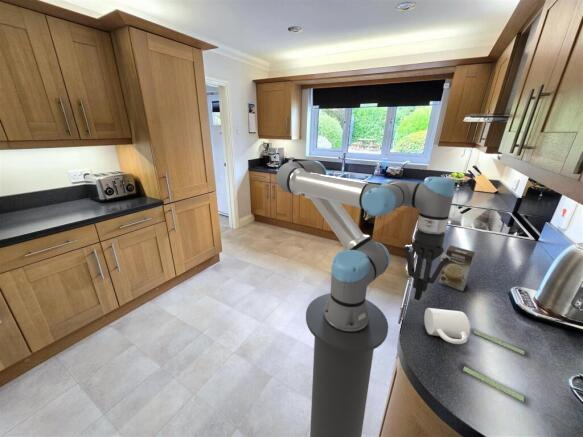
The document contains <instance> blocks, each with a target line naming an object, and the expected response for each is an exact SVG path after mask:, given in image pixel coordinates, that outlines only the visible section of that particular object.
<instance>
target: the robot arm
mask: <svg viewBox="0 0 583 437" xmlns="http://www.w3.org/2000/svg"><path fill="white" fill-rule="evenodd" d="M327 173H328V172H327V169H326V167H325V166H324V164H323V163H321V161H318V160H312V159H306V160H300V161H299V160H298V161H289V162H286V163H284V164H282V165H281V166H280V167H279V168H278V170H277V172H276V183H277V185H278V187H279V188H280V189H281V190H282V191H283V192H286V193H288V194H292V195H296V196H299V195H303V197H304V198H305V199H309V200H310V201H311V202H312V203H313V205H314V206H315V207H316V209H317V211H318V212H319V213H320V214H321V216H322V217H323V218H324V220H325V221H326V223H327V224H328V226H329V227H330V228H331V230H332V231H333V233H334V234H335V236H336V238H338V240H339V241H340V243H341V244H342V246H343V248H344V250H342V251H339V252H338V253H336V254H335V255H334V257H333V259H332V264H331V278H330V297H329V299H328V301H327V303H326V305H325V308H324V318H325V320H326V322H327V323H328V324H329V325H330V326H331V327H332V328H334V329H336V330H338V331H341V332H345V333H357V332H360V331H362V330H364V329H365V328H366V327H367V325H368V321H369V314H368V310H367V306H366V302H365V299H366V297H367V291H368V290H367V289H368V286H370V284H371V283H373V282H374V281H375V280H376V279H377V278H378V277H380V276H381V275H383V274H384V273H385V272H386V270H387V269H388V268H389V266H390V262H391V255H390V251H389V250H388V249H387V247H386V246H385V245H384V244H383V243H381V242H378V241H375V240H374V239H373V237H371V235H369V234H364V233H363V231H362V230H361V228H360V227H359V226H358V225H357V224H356V222H355V221H354V220H353V218H352V217H351V215H350V213H348V211H347V210H346V209H345V208H344V205H347V206H351V207H354V208H359V209H363V211H365V212H366V213H367V214H368V215H370V216H372V217H381V216H386V215H388V214H389V213H391V212H394V211H395V210H397V209H400V208H401V207H408V208H413V209H419V212H418V216H417V217H418V218H417V224H416V227H417V228H416V230H415V235H414V241H413V242H412V243H411V244H406V245H405V246H404V247H403V251H404V253H405V255H406V256H405V257H406V267H407V274H408V276H409V277H411V278H412V279H413V283H412V288H413V289H415V292H414V297H413V299H414V300H416V301H420V300H421V298H422V296H423V292H424V293H425V292H426V291H427V290H428V285H429V284H431V285H432V284H434V283H435V282H436V280H437V278H438V277H439V275H440V274H441V272H442V268H443V267H444V265H445V264H446V263H448V262H449V261H450V259H451V257H450V256H447V255H446V252H445V251H444V250H445V249H444V247H443V246H444V242H445V237H446V233H445V232H446V231H447V227H448V223H449V218H450V212H451V209H452V203H453V200H454V196H455V195H454V192H455V185H456V182H455V180H454V179H453V178H450V177H445V176H427V177H425V179H424V181H423V182H416V181H415V182H414V181H405V180H399V179H385V180H383V182H382V183H381V184H375V183H369V182H365V181H361V180H353V179H347V178H343V177H336V176H332V175H328V174H327ZM413 251H414V252H415V254H416V256H417V257H416V264H415V260H414V252H413ZM439 257H440V258H439ZM437 258H439V260H440V262H439V263H438V265H437V266H436V268H435V271H434V272H433V274H432V276H431V272H432V268H433V261H434V260H436V259H437ZM424 260H425V266H424V272H423V277H422V278H421V276H422V275H421V274H422V269H423V264H424Z"/></svg>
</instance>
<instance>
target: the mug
mask: <svg viewBox="0 0 583 437" xmlns="http://www.w3.org/2000/svg"><path fill="white" fill-rule="evenodd" d="M423 316H424V317H423V321H424V322H423V323H424V327H425V330H426V332H427V334H428V335H430V336H436V337H440V338H441V339H443V340H444V341H446V342H447V343H450V344H454V345H462V344H465V343H466V342H467V341H468V339H469V337H470V334H471V325H470V321H469V320H470V319H469V317H468V316H467V315H466V313H465V312H463V311H460V310H451V309H441V308H433V307H427V308H425V311H424V315H423Z"/></svg>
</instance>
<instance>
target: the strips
mask: <svg viewBox="0 0 583 437" xmlns="http://www.w3.org/2000/svg"><path fill="white" fill-rule="evenodd" d="M473 334H474V335H476V336H479V337H481V338H483V339H486V340H488V341H490V342H492V343H495V344H497V345H499V346H501V347H504V348H506V349H509V350H511V351H514V352H515V353H518V354H521V355H523V356H525V351H524V350H523V349H520V348H517V347H516V346H513V345H511V344H509V343H506V342H503V341H501V340H499V339H497V338H494V337H491V336H489V335H487V334H484V333H483V332H480V331H478V330H475V329H474V330H473ZM462 371H463V372H464V373H467V374H469V375H471V376H473V377H474V378H476V379H478V380H480V381H482V382H484V383H486V384H488V385H489V386H491V387H494V388H496V389H497V390H499V391H501V392H503V393H505V394H507V395H509V396H511V397H512V398H515V399H517V400H519V401H520V402H525V396H523V395H522V394H520V393H518V392H516V391H514V390H512V389H510V388H508V387H506V386H504V385H502V384H500V383H498V382H497V381H494V380H492V379H490V378H489V377H487V376H484V375H482V374H480V373H478V372H476V371H475V370H472V369H470V368H469V367H467V366H463V369H462Z"/></svg>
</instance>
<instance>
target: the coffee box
mask: <svg viewBox="0 0 583 437" xmlns="http://www.w3.org/2000/svg"><path fill="white" fill-rule="evenodd" d="M445 254H446V255H447V256H450V257H451V259H450V261H449V262H448V263H446V264H445V265H444V267H443V268H442V270H441V272H440V276H439V281H438V283H439V284H441V285H444V286H447V287H449V288H453V289H456V290H459V291H460V292H464V290H465V288H466V284H467V281H468V278H469V275H470V271H471V267H472V264H473V260H474V257H475V254H476V252H475V251H473V250H469V249H466V248H462V247H459V246H455V245H449V246H448V247H447V250H446V252H445Z"/></svg>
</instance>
